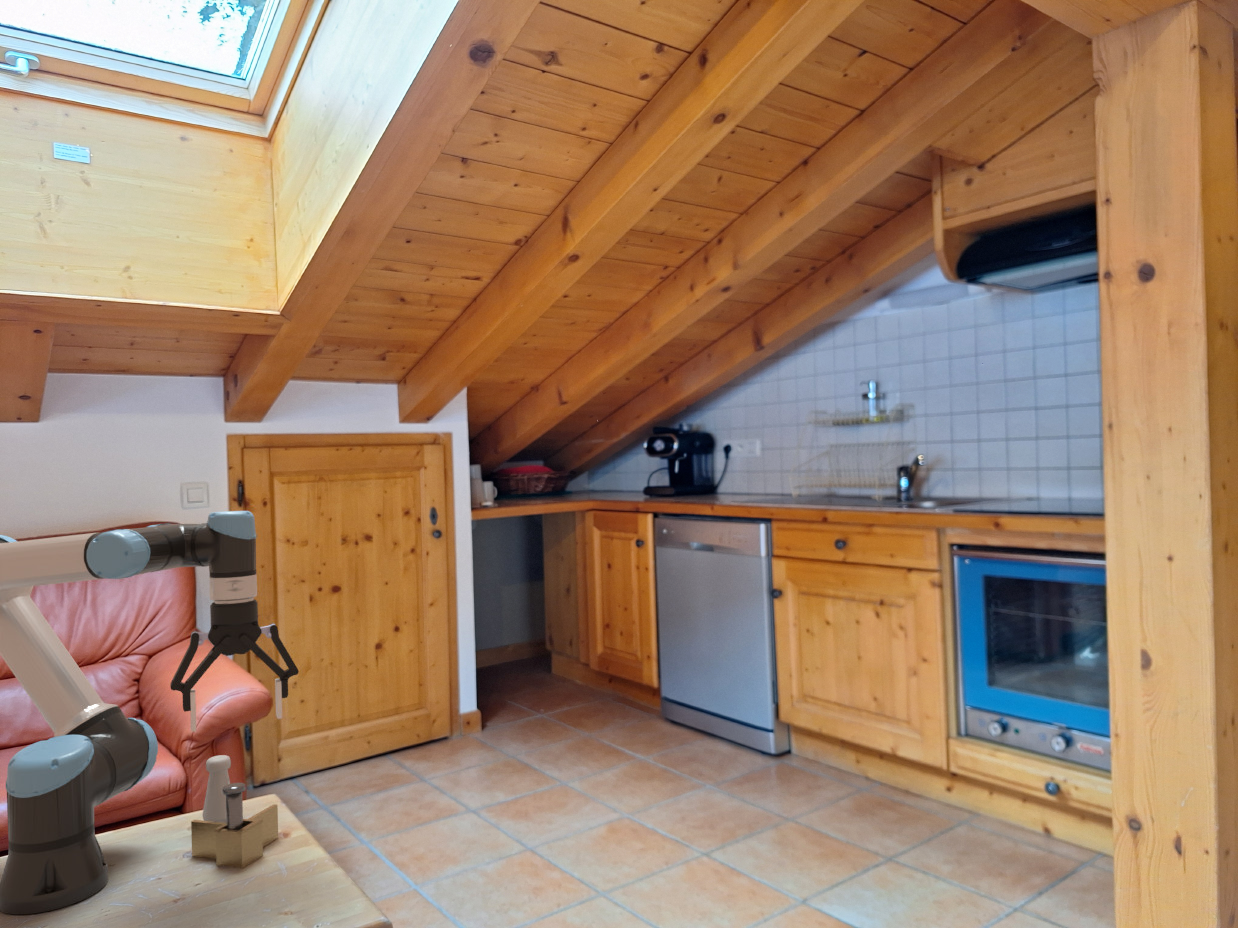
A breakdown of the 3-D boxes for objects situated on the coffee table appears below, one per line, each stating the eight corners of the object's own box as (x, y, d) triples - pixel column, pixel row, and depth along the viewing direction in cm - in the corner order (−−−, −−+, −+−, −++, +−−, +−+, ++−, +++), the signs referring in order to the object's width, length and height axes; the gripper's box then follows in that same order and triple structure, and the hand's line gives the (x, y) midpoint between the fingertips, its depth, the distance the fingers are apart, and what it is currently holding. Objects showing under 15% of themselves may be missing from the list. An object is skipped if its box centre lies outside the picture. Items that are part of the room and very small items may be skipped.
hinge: (182, 861, 152) (181, 825, 152) (232, 832, 163) (231, 799, 163) (242, 868, 148) (241, 831, 148) (289, 838, 160) (288, 804, 160)
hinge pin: (225, 867, 149) (223, 791, 149) (223, 859, 152) (221, 785, 152) (248, 862, 150) (246, 787, 150) (246, 854, 154) (244, 781, 154)
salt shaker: (196, 831, 165) (194, 761, 165) (215, 819, 170) (213, 751, 170) (224, 832, 164) (222, 762, 164) (242, 820, 169) (241, 752, 169)
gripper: (152, 610, 144) (155, 740, 143) (312, 595, 155) (316, 716, 155) (152, 604, 150) (155, 729, 150) (306, 591, 162) (309, 707, 162)
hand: (237, 723), depth 153 cm, fingers open, 13 cm apart
